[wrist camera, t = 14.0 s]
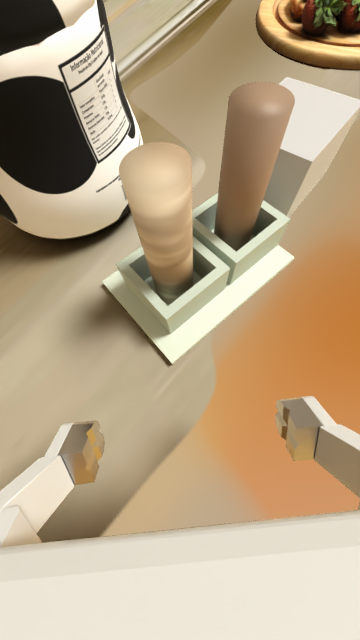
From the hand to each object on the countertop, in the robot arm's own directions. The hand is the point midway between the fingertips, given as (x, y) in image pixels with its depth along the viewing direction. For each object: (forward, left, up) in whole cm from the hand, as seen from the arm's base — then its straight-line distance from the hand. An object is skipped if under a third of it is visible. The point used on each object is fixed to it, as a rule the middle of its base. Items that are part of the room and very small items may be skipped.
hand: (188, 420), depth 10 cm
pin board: (+10, +10, -9) cm, 16 cm away
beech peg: (+7, +10, -8) cm, 14 cm away
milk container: (+7, +28, -9) cm, 30 cm away
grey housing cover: (+25, +13, -9) cm, 29 cm away
